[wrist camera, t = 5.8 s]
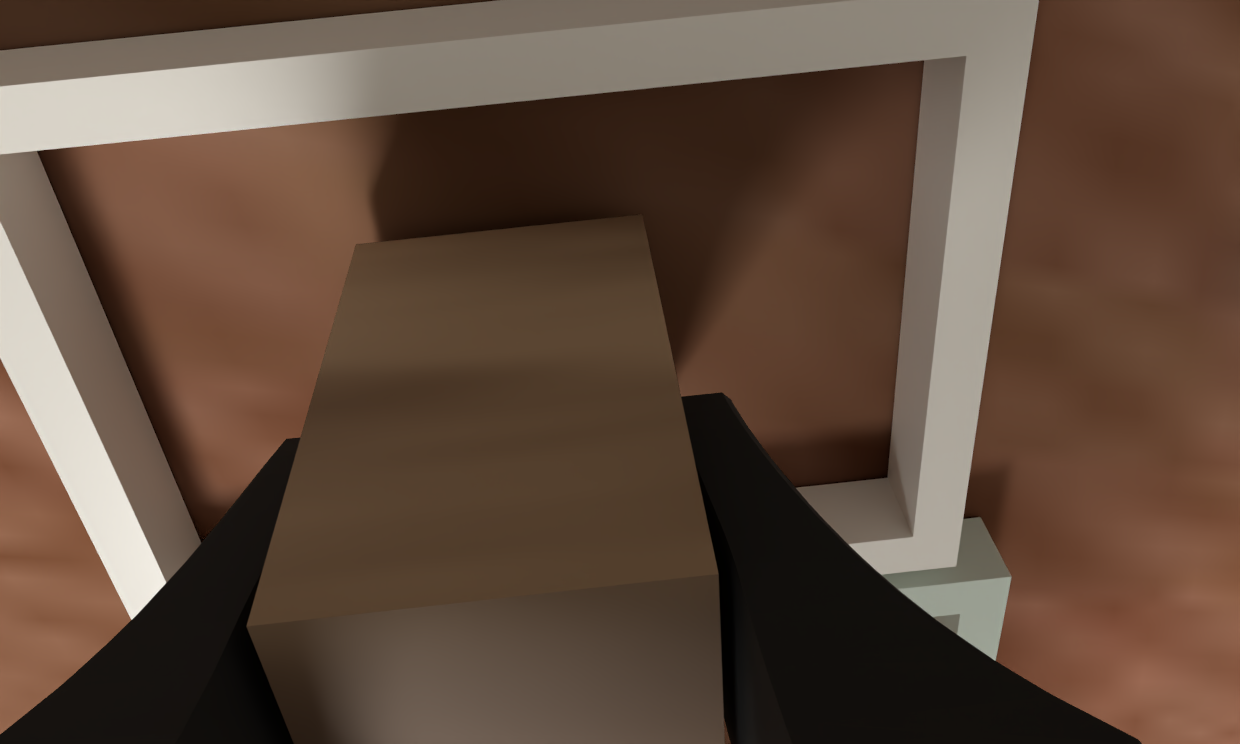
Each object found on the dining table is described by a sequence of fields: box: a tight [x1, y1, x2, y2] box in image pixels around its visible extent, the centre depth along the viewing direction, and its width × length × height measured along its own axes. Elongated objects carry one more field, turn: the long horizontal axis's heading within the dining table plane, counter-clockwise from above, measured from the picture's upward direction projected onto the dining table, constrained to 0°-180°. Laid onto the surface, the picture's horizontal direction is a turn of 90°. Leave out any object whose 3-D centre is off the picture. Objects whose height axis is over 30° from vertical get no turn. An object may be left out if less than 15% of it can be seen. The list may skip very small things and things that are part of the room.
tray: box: [0, 0, 1039, 620], centre depth 16 cm, size 10×14×2 cm
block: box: [246, 214, 725, 744], centre depth 13 cm, size 4×4×7 cm
